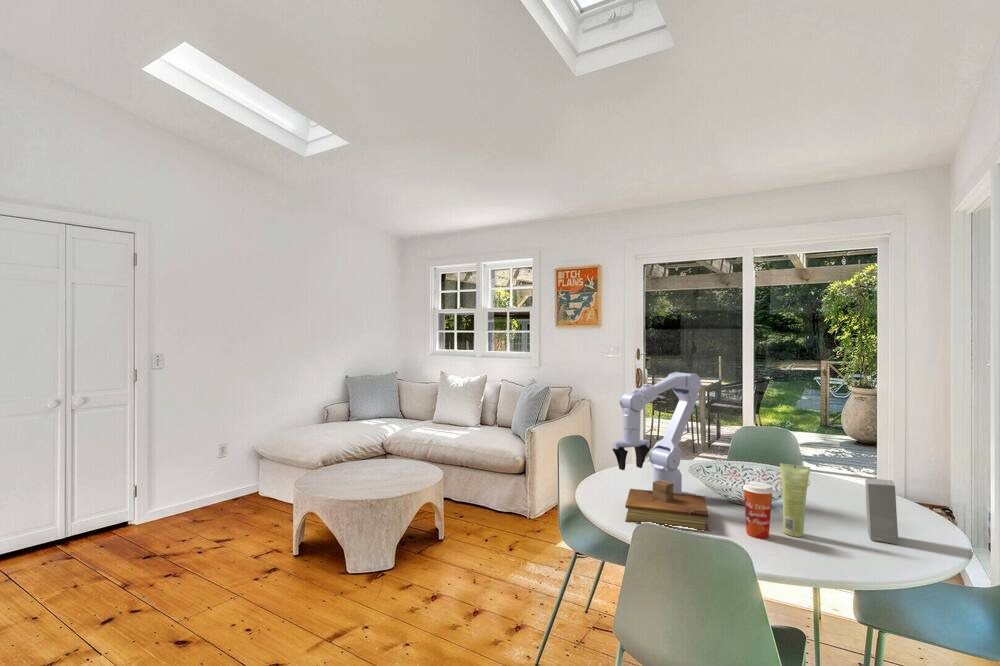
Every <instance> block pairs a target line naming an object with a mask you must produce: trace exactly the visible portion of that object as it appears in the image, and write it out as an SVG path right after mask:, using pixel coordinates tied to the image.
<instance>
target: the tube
mask: <svg viewBox="0 0 1000 666" xmlns="http://www.w3.org/2000/svg"><path fill="white" fill-rule="evenodd" d="M779 468H780V469H779V471H780V476H781V477H780V478H781V491H782V522H783V524H782V525H783V527H782V529H783V530H782V531H783V533H784V534H786V535H788V536H791V537H796V538H797V537H799V538H800V537H804V531H805V529H804V528H805V515H806V503H807V502H806V501H807V494H808V493H807V492H808V483H809V476H810V472H811V467H810V466H803V465H796V464H788V463H782V462H781V463H779Z"/></svg>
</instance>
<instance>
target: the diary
mask: <svg viewBox="0 0 1000 666" xmlns="http://www.w3.org/2000/svg"><path fill="white" fill-rule="evenodd" d="M648 490H649V489H647V490H646V489H637V488H635V489H634V488H629V491H628V493H627V498H626V502H625V509H627V513H626V517H625V523H631V522H638V523H637V524H639V523H641V522H652V523H656V524H659V525H664V526H668V527H667V528H671V527H672V526H682V527H688V528H694V529H697V530H704V531H708V532H709V527H708V523H707V519H706V518H708V519H709V511H708V508H707V501H706V497H705V495H695V494H687V493H686V494H685V493H683V494H678V493H673V499H672V500H670V501H667V502H664V501H660V500H657V499H653V498H652V496H653V491H648ZM665 524H667V525H665ZM669 525H672V526H669ZM672 529H675V528H674V527H673V528H672ZM704 531H703V532H704Z"/></svg>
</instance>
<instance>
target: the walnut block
mask: <svg viewBox="0 0 1000 666" xmlns="http://www.w3.org/2000/svg"><path fill="white" fill-rule="evenodd" d="M652 489H653V496H652V498H653V499H657V500H660V501H664V502H667V501H670V500H672V499H673V491H674V483H671V482H667V481H663V480H659V481H655V482H652Z"/></svg>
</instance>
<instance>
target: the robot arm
mask: <svg viewBox="0 0 1000 666" xmlns="http://www.w3.org/2000/svg"><path fill="white" fill-rule="evenodd" d="M701 388H702V381H701V378H700V376H699V375H698V374H697V373H689V372H688V373H687V372H679V371H674V372H671V373H669V374H668V375H667V376H666V377H665V378H663V379H661V380H659V381H658V382H656V383H654V384H651V383H650V384H649V383H644V384H643V385H642V387H640V388H637V389H636V388H635V389H633V390H632V392H625V393H624V394H623V395H622V396H621V398H620V400H619V405H620V408H621V412H622V439H621V440H619V441H612V451H613V453H614V455H615V458H616V461H617V464H618V469H619V470H620V471H621V470H622V471H626V460H627V456H628V453H629V451H628V450H626V449H627V448H634V453H635V465H636V468H640V469H643V466H644V463H645V459H646V457H647V455H648V460H649V462H650V464H651V466H652V467H653V471H652V472H653V473H652V474H653V476H652V477H653V479H652V480H653V482H655V481H659V480H663V481H667V482H671V483H674V491H673V493H678V494H684V492H682V487H683V485H682V482H683V479H682V478H683V477H682V476H683V475H682V472H681V471H680V469H679V468H678V467H679V466H680V463H681V458H682V457H681V456H682V454H683V452H682V450H681V448H680V447H679V444H680V441H681V440H682V437H683V435H684V432H685V429H686V428H687V425H688V422H689V420H690V417H691V415H692V413H693V410H694V409H695V406H696V403H697V399H698V398H697V397H698V395H699V392H700V390H701ZM671 389H672V391H673V393H674V394H675V395H676V397H677V398H678V401H677V404H676V407H675V410H674V411H673V414H672V416H671V418H670V419H671V420H670V421H669V424H668V427H667V428H666V431H665V433H664V436H663V438H662V439H660V440H658V441H657V442H655V444H654V446H653V447H652V448H651V449H650V440H649V439H641V411H642V410H644V407H645V406H646V405H647V404H649V403H651V402H653V401H655V400H657V398H658V397H659V394H662V393H664V392H667V391H668V390H671ZM653 482H652V483H653ZM647 490H648V491H653V488H652V489H647Z"/></svg>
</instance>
